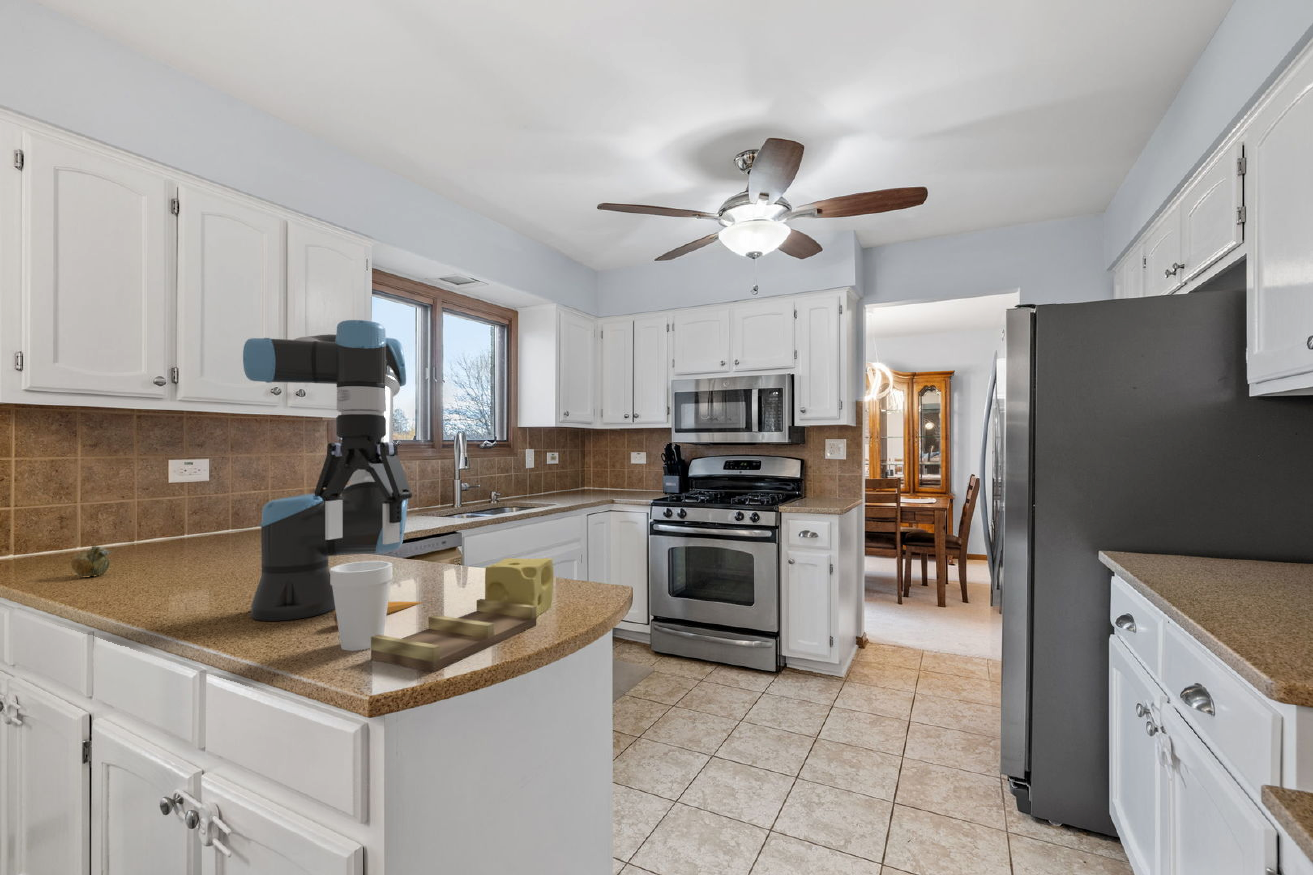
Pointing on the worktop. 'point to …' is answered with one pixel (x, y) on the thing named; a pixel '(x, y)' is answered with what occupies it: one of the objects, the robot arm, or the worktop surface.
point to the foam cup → (361, 601)
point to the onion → (91, 562)
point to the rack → (455, 636)
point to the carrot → (390, 607)
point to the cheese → (521, 582)
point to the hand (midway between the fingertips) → (361, 541)
